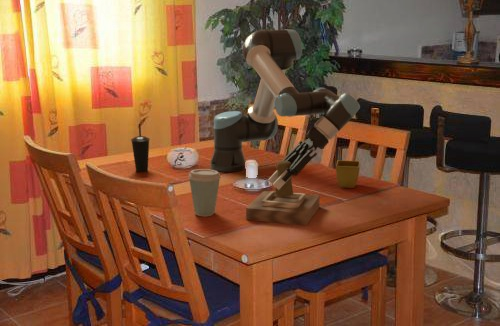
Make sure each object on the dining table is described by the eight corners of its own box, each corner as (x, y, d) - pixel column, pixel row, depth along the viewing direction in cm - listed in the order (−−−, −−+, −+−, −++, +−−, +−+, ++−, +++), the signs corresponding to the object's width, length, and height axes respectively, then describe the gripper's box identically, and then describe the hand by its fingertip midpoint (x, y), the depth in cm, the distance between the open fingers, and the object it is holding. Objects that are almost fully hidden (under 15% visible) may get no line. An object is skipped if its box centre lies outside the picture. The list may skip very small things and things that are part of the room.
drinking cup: (141, 167, 287) (139, 121, 282) (154, 170, 282) (152, 123, 277) (128, 171, 281) (126, 124, 276) (142, 174, 276) (139, 126, 271)
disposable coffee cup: (201, 207, 233) (200, 165, 230) (227, 211, 228) (226, 168, 224) (183, 215, 225) (181, 172, 221) (210, 220, 219) (209, 176, 216)
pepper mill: (283, 189, 229) (283, 158, 226) (297, 193, 224) (297, 161, 222) (271, 193, 225) (271, 161, 222) (284, 197, 220) (284, 164, 218)
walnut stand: (246, 219, 220) (246, 203, 219) (263, 201, 238) (263, 187, 237) (306, 225, 214) (306, 208, 213) (319, 206, 233) (319, 191, 231)
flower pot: (358, 190, 252) (359, 166, 250) (335, 188, 254) (335, 165, 251) (359, 183, 260) (360, 161, 258) (336, 182, 262) (337, 160, 260)
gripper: (338, 146, 215) (288, 199, 216) (320, 135, 232) (274, 184, 233) (322, 131, 213) (272, 184, 213) (305, 120, 230) (259, 170, 230)
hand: (273, 184), depth 223 cm, fingers closed on pepper mill, 5 cm apart
